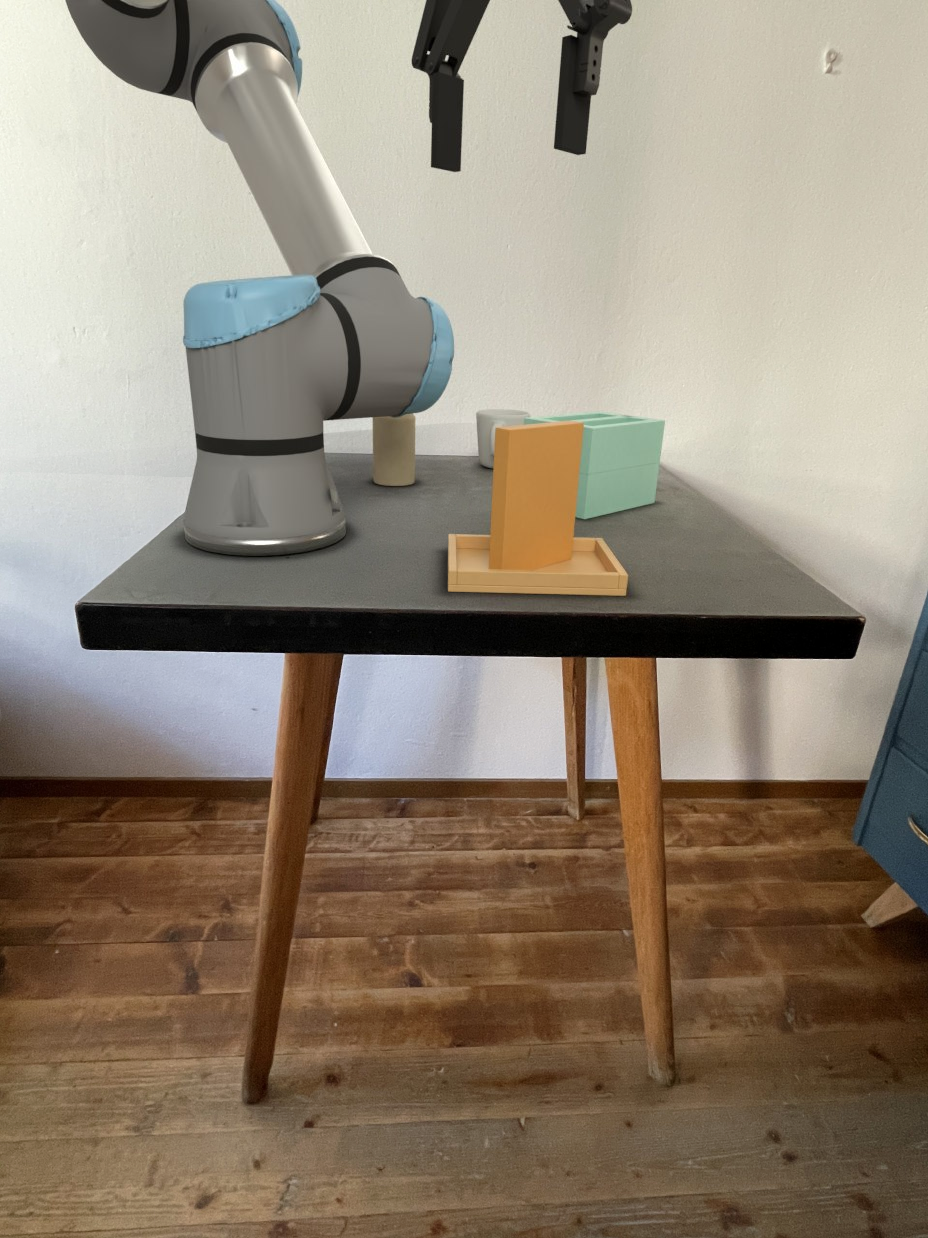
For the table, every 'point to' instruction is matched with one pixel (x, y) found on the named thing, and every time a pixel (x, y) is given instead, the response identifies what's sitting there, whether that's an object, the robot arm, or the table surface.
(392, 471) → the candle
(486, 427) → the cup
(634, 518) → the table surface
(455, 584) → the tray
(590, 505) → the toaster
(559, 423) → the orange rectangular panel
